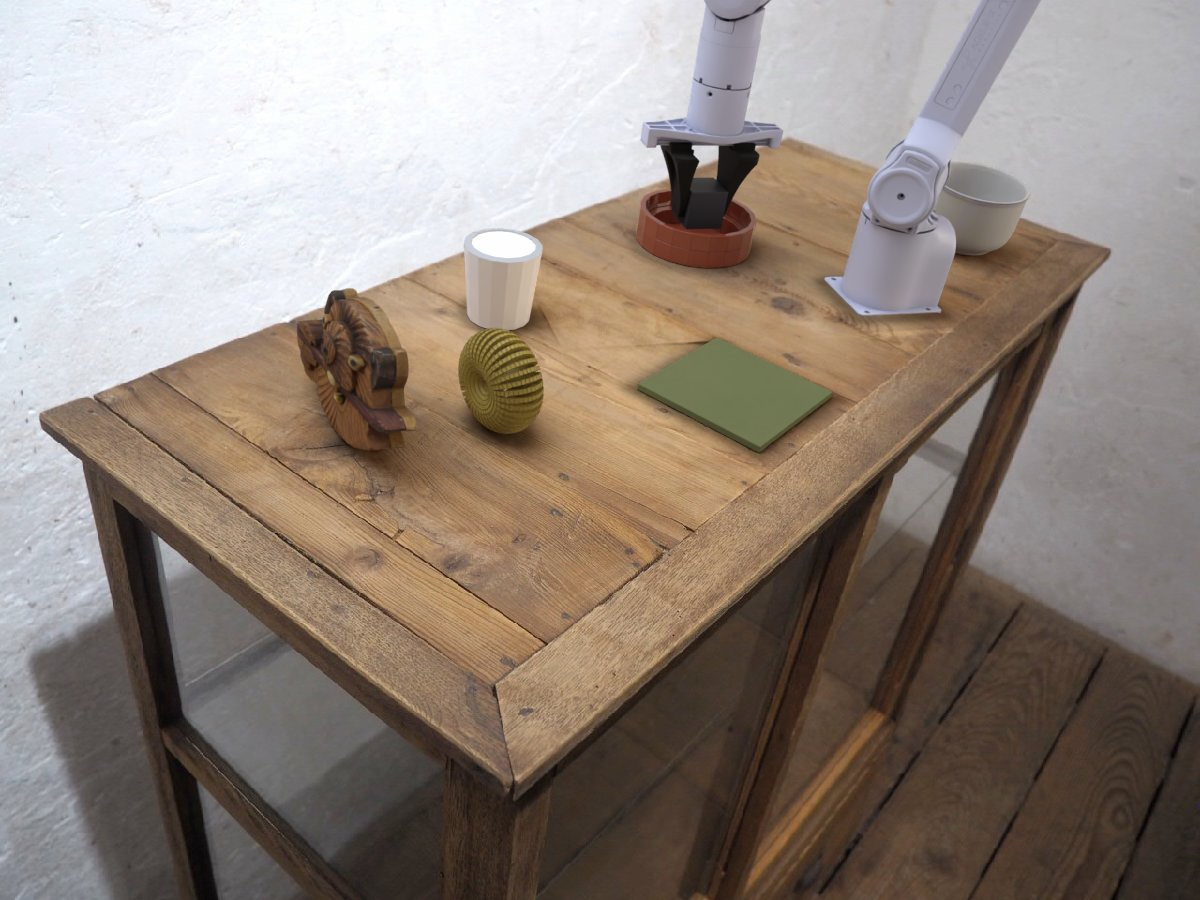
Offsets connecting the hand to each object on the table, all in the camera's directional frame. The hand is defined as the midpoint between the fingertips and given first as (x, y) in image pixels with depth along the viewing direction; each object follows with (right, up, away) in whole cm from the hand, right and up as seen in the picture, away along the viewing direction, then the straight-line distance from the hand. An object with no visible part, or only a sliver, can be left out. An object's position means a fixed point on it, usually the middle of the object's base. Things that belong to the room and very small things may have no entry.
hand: (698, 212), depth 110 cm
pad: (+1, -20, -21) cm, 29 cm away
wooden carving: (-29, -23, -31) cm, 48 cm away
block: (0, -1, 0) cm, 1 cm away
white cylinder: (-19, -13, -15) cm, 28 cm away
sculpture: (-18, -23, -29) cm, 41 cm away
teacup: (+30, -1, +12) cm, 32 cm away
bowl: (-1, -3, +2) cm, 4 cm away
